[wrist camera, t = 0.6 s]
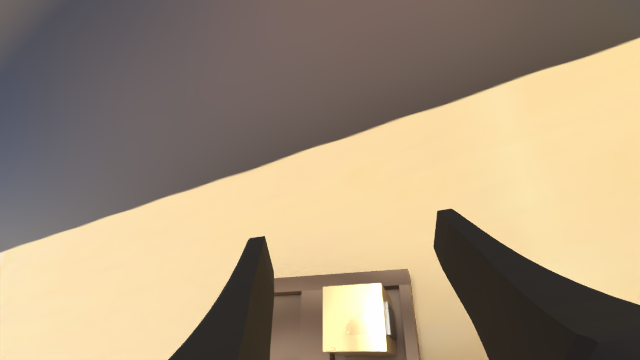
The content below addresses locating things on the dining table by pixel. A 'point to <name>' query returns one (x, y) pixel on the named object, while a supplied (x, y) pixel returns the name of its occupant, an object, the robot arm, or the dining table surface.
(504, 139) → the dining table surface
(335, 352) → the block
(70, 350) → the dining table surface
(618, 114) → the dining table surface
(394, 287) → the brown compartment tray
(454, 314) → the dining table surface
